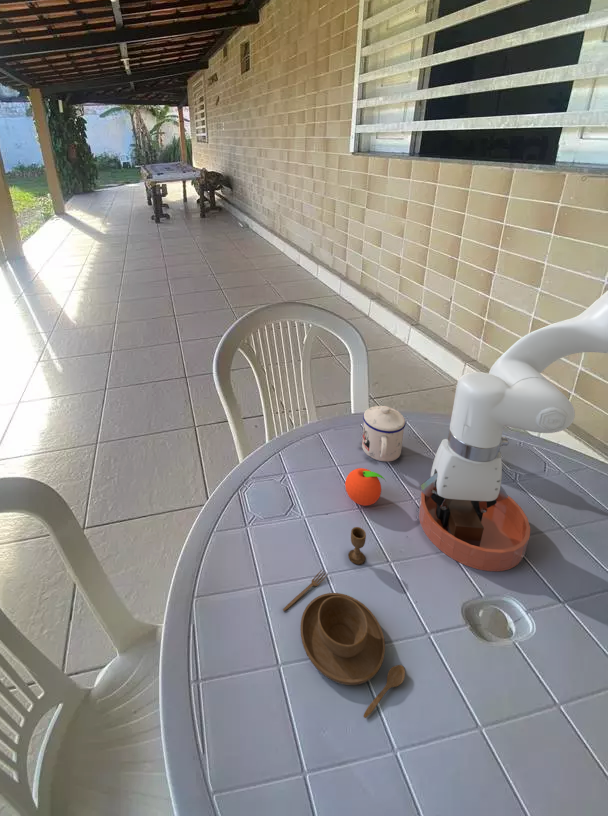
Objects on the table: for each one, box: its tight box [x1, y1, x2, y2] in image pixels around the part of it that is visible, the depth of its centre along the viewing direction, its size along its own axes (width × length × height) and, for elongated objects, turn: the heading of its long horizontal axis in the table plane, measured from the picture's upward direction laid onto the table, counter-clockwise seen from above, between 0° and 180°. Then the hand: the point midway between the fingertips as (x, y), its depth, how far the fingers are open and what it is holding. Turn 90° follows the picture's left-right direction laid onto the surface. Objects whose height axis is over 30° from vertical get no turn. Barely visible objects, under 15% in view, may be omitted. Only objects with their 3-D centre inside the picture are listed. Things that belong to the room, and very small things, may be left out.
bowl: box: [418, 487, 531, 572], centre depth 78 cm, size 17×17×4 cm
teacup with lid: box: [361, 405, 407, 462], centre depth 96 cm, size 12×9×12 cm
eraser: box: [436, 499, 484, 546], centre depth 78 cm, size 4×9×4 cm, turn 172°
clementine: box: [344, 467, 386, 507], centre depth 85 cm, size 8×7×7 cm
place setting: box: [282, 526, 406, 719], centre depth 64 cm, size 18×20×6 cm
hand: (457, 520), depth 78 cm, fingers closed on eraser, 4 cm apart
